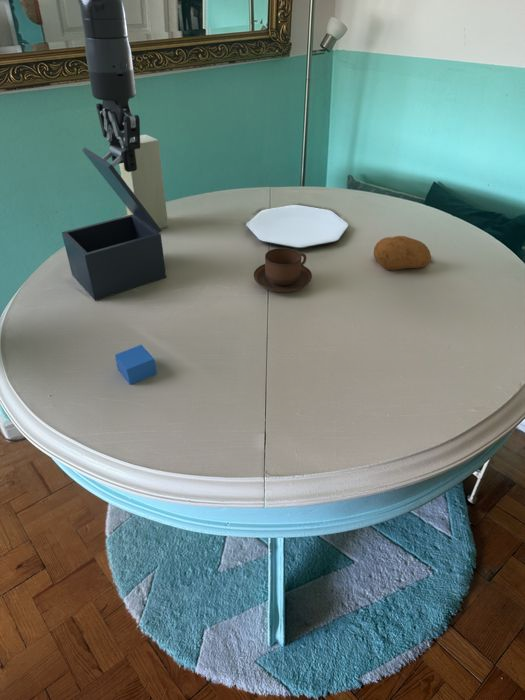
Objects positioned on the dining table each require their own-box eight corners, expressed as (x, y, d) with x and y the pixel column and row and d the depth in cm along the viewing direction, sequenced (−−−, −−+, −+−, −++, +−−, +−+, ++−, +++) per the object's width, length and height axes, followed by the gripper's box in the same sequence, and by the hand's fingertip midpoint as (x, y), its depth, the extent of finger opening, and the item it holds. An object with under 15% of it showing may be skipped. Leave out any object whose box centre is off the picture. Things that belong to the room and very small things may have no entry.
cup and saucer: (273, 263, 115) (274, 238, 111) (321, 278, 109) (323, 251, 106) (242, 286, 107) (241, 259, 103) (292, 303, 101) (293, 276, 98)
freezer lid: (108, 167, 91) (130, 148, 92) (81, 149, 99) (101, 132, 100) (159, 233, 104) (178, 216, 104) (131, 213, 112) (149, 197, 112)
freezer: (95, 300, 102) (84, 255, 96) (72, 275, 111) (61, 232, 105) (166, 277, 110) (160, 234, 104) (140, 255, 118) (133, 213, 112)
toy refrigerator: (155, 217, 135) (144, 132, 123) (169, 226, 131) (159, 139, 118) (127, 224, 132) (113, 138, 119) (140, 234, 127) (126, 145, 114)
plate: (362, 241, 124) (363, 235, 123) (271, 258, 117) (271, 252, 116) (318, 206, 141) (318, 200, 140) (236, 219, 134) (236, 213, 133)
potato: (366, 262, 115) (372, 230, 112) (421, 264, 117) (428, 233, 114) (376, 273, 109) (382, 240, 106) (433, 275, 111) (441, 243, 107)
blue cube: (131, 392, 81) (126, 369, 78) (119, 377, 84) (114, 354, 81) (158, 381, 83) (154, 358, 80) (145, 366, 86) (141, 344, 83)
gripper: (74, 63, 92) (91, 161, 102) (106, 74, 83) (122, 181, 93) (114, 60, 96) (127, 154, 106) (149, 71, 86) (159, 173, 97)
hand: (124, 166), depth 99 cm, fingers closed on freezer lid, 5 cm apart
